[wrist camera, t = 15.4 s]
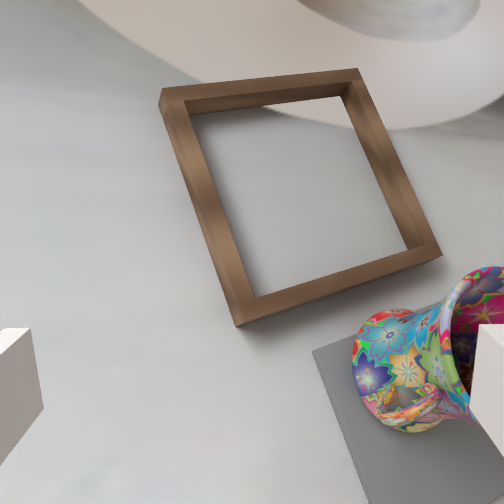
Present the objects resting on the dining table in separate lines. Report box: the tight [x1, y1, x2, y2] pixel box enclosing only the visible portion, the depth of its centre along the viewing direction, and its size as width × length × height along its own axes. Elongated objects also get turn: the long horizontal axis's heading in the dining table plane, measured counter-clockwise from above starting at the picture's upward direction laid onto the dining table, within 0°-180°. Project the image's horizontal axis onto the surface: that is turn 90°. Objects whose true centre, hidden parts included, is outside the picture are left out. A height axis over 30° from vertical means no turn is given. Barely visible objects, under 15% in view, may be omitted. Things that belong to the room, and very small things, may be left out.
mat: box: [312, 301, 504, 504], centre depth 34 cm, size 14×14×1 cm
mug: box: [352, 267, 504, 433], centre depth 29 cm, size 12×9×11 cm
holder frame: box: [158, 68, 443, 327], centre depth 36 cm, size 17×17×2 cm
